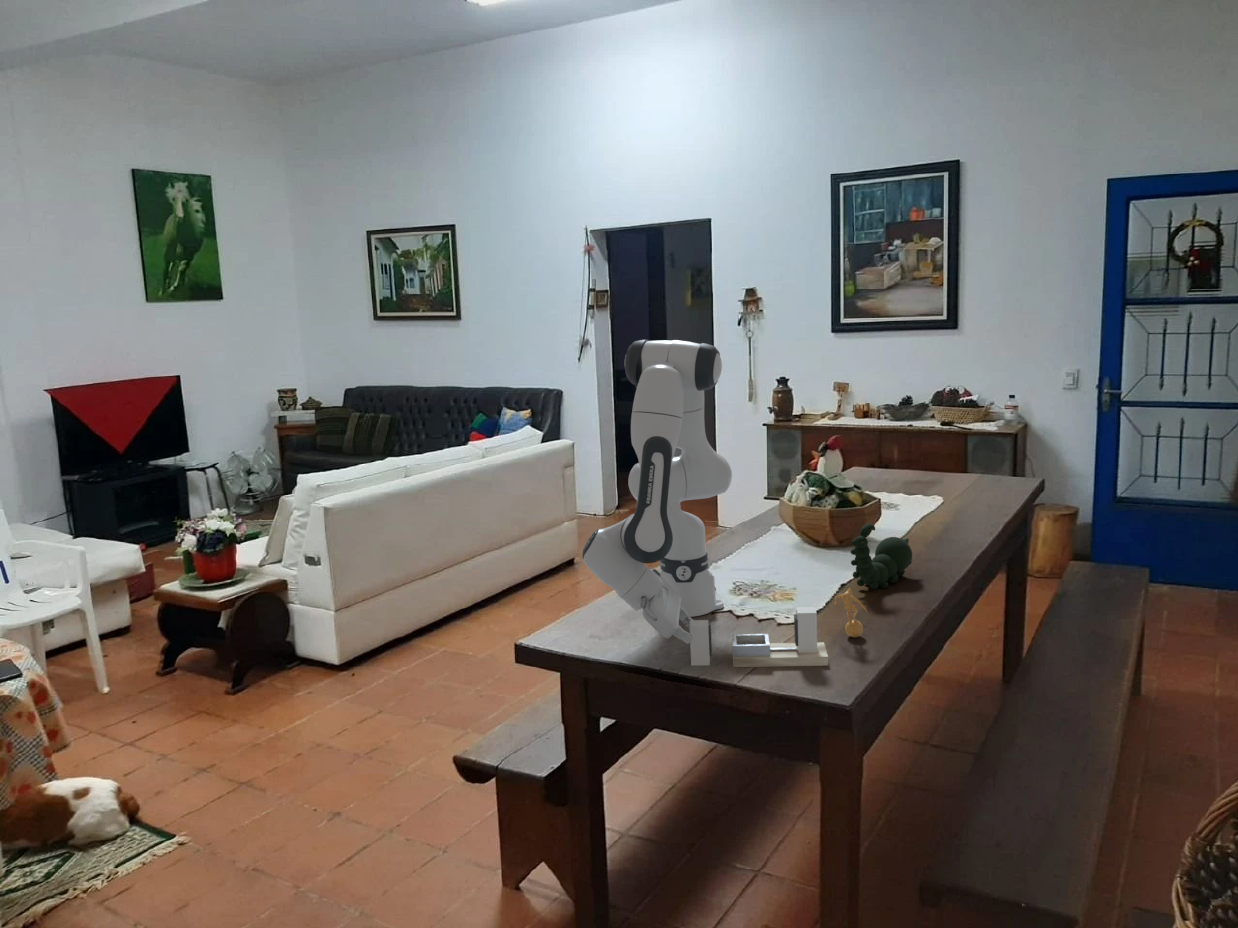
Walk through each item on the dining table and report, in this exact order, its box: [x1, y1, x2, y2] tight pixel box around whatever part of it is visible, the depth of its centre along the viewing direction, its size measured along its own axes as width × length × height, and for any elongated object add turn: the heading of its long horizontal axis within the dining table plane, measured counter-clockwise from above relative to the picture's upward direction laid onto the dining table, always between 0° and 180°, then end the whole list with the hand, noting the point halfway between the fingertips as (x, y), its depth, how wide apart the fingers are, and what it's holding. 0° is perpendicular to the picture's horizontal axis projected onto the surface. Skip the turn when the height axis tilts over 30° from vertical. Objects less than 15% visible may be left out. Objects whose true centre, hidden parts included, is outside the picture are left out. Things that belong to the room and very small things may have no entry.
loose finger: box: [689, 619, 713, 666], centre depth 209 cm, size 4×4×9 cm
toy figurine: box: [850, 523, 913, 590], centre depth 252 cm, size 9×19×25 cm
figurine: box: [833, 588, 868, 638], centre depth 217 cm, size 8×6×12 cm
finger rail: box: [731, 606, 829, 668], centre depth 208 cm, size 8×20×11 cm, turn 85°
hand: (690, 632), depth 209 cm, fingers open, 8 cm apart
